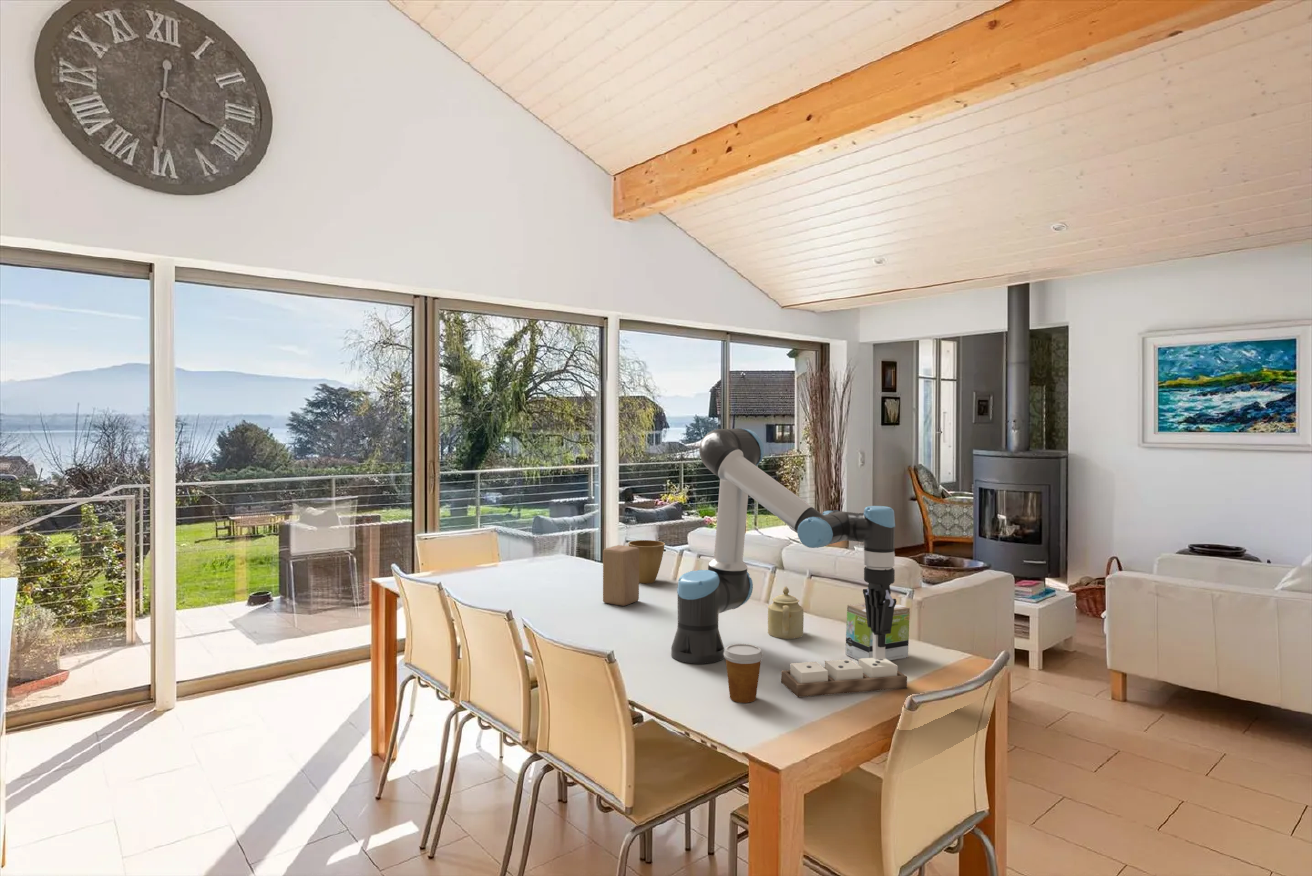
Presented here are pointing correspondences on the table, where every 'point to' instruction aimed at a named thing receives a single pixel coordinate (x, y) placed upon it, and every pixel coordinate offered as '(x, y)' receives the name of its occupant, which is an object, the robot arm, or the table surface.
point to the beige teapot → (785, 617)
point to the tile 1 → (808, 672)
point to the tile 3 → (878, 667)
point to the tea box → (862, 636)
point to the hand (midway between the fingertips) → (878, 658)
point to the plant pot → (648, 559)
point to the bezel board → (843, 685)
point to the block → (620, 575)
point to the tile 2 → (843, 669)
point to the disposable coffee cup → (743, 671)
